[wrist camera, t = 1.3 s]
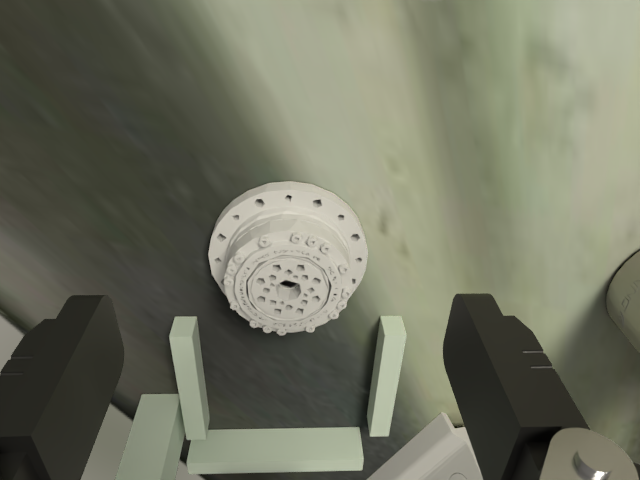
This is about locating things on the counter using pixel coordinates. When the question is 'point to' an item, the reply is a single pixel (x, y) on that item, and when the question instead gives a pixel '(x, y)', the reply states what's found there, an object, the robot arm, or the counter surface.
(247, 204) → the mechanical component
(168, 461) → the frame
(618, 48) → the counter surface
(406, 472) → the grey curved housing
